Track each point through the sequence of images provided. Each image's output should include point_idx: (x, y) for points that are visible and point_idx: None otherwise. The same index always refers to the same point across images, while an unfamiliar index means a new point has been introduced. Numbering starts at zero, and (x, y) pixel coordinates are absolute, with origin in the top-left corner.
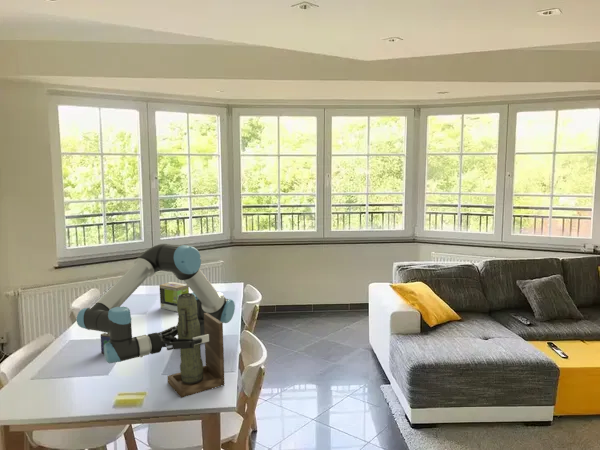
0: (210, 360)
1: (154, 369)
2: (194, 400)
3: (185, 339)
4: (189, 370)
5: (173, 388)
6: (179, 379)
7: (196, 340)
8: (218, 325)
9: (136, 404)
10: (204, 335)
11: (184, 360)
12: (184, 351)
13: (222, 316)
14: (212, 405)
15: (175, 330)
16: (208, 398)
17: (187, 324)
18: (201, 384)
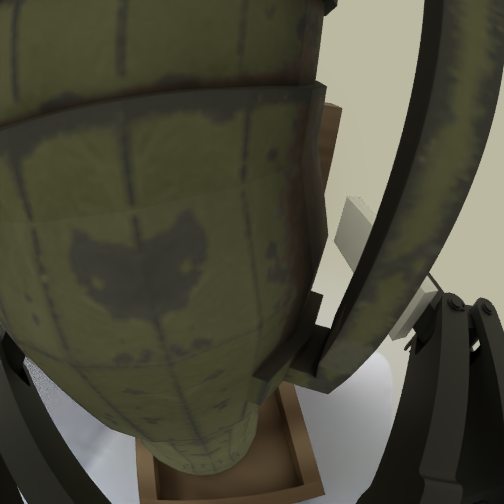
0: None
1: (17, 486)
2: (348, 453)
3: (456, 359)
4: (251, 440)
5: None
6: (163, 474)
7: (435, 282)
8: (330, 121)
9: None
10: (371, 215)
11: (230, 449)
12: (235, 433)
13: None
14: (392, 402)
15: (16, 397)
16: (348, 410)
17: (319, 167)
18: (301, 415)
